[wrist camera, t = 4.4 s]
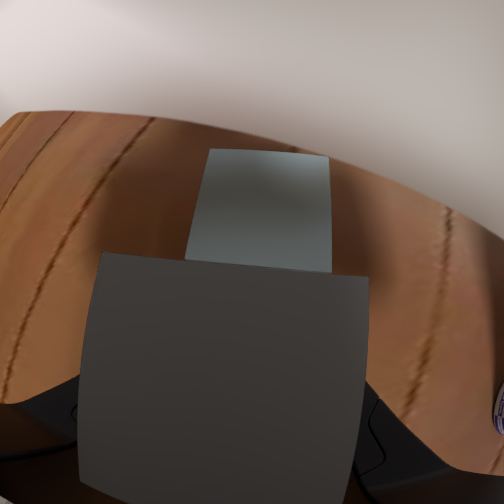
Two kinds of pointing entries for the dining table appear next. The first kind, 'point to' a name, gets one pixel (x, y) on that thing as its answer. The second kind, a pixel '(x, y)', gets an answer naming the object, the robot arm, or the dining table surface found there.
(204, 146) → the dining table surface
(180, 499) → the white base grey pillars
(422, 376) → the dining table surface
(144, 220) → the dining table surface
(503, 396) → the energy drink
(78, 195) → the dining table surface
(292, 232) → the cube
